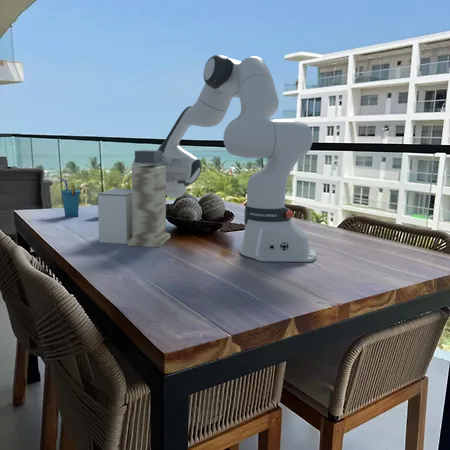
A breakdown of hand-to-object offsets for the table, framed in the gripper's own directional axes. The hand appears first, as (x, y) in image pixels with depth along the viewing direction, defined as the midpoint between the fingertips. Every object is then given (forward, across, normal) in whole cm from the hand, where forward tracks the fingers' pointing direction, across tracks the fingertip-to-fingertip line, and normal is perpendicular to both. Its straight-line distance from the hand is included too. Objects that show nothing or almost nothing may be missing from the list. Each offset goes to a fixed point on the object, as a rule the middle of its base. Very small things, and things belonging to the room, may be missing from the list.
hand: (157, 155), depth 150 cm
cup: (-36, -44, +11) cm, 58 cm away
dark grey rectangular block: (+4, 0, +4) cm, 6 cm away
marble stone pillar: (-5, 0, +28) cm, 29 cm away
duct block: (-7, -11, +27) cm, 30 cm away
